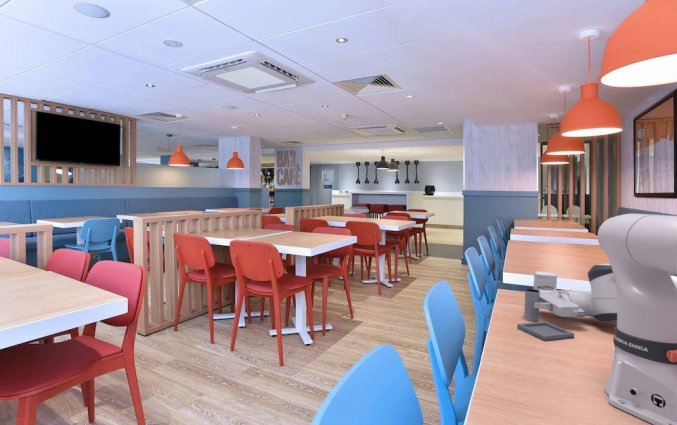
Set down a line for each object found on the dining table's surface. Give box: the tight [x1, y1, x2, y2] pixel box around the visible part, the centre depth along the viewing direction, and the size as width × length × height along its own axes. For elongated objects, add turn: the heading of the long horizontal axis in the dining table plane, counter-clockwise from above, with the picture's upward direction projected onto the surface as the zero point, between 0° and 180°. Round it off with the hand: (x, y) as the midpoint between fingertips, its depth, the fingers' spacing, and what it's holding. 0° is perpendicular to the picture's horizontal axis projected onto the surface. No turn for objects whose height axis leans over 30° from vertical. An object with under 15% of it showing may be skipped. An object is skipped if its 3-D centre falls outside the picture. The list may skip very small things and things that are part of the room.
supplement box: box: [533, 270, 558, 291], centre depth 148 cm, size 7×7×13 cm
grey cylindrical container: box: [523, 288, 540, 323], centre depth 129 cm, size 4×4×10 cm
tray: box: [516, 321, 575, 342], centre depth 116 cm, size 11×11×2 cm
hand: (529, 302), depth 129 cm, fingers closed on grey cylindrical container, 4 cm apart
